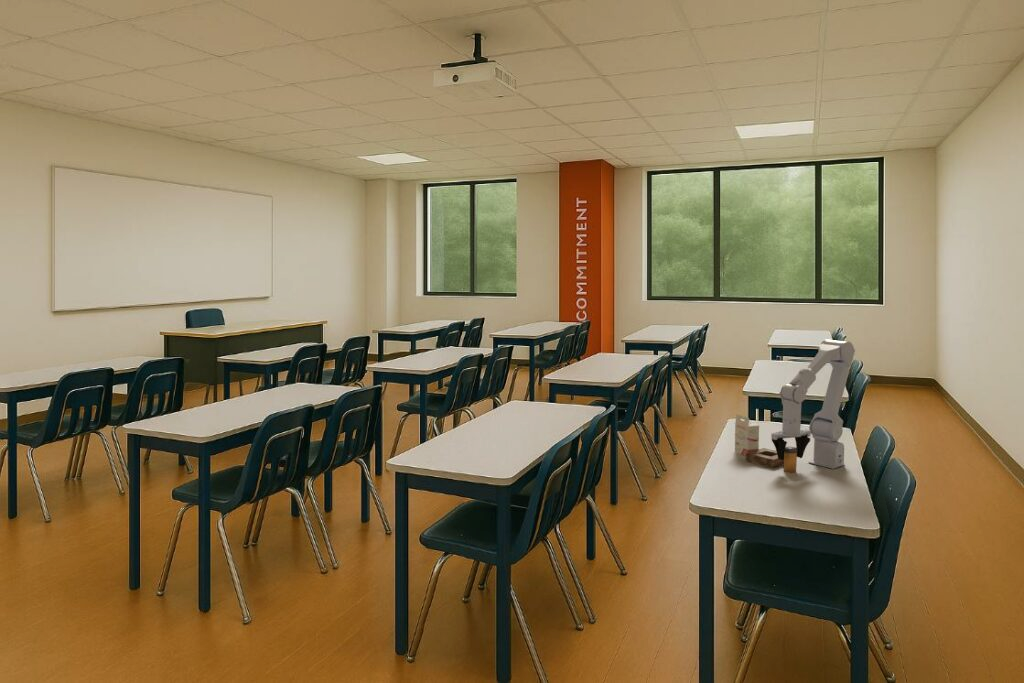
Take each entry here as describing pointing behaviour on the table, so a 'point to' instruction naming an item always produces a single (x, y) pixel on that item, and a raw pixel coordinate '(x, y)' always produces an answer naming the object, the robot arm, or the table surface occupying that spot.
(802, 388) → the robot arm
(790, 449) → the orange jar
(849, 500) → the table surface
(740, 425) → the ink cartridge box
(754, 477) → the table surface
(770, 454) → the socket block
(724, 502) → the table surface
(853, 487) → the table surface
